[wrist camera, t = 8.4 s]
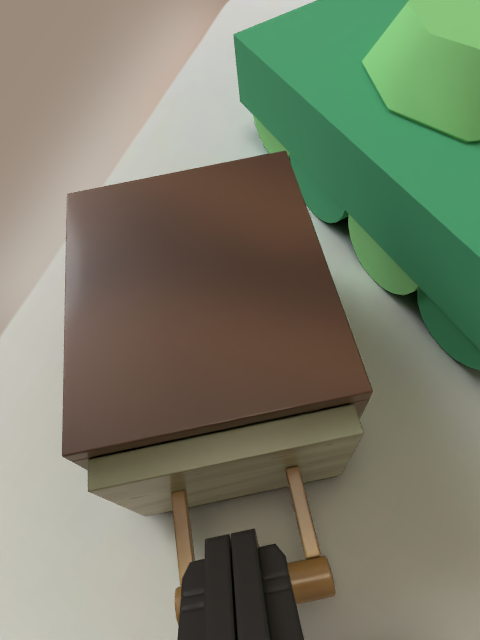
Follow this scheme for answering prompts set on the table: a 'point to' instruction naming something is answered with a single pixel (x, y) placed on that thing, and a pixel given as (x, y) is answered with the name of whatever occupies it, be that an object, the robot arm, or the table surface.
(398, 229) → the toy tank
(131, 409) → the cabinet
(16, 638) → the table surface
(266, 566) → the robot arm
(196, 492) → the drawer
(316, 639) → the table surface
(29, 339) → the table surface
